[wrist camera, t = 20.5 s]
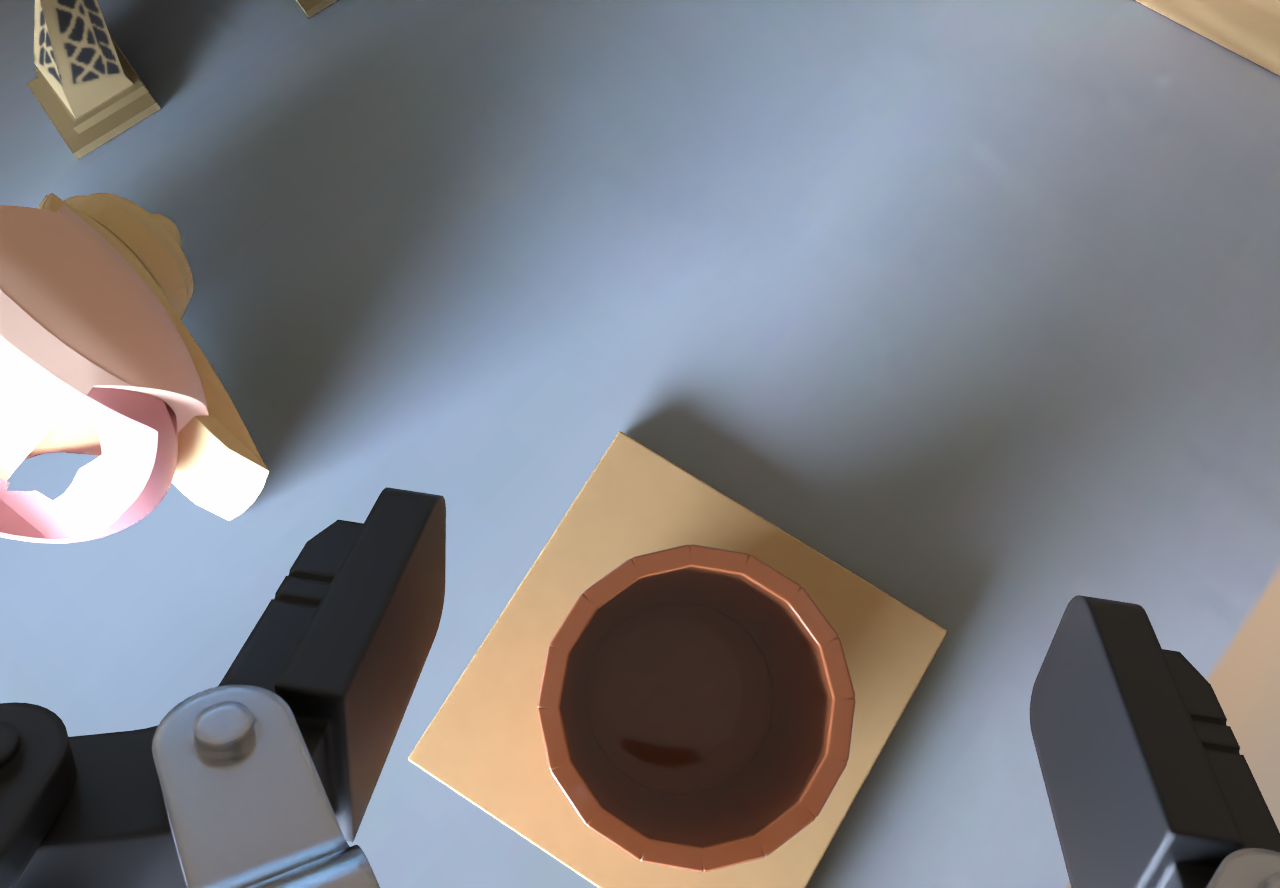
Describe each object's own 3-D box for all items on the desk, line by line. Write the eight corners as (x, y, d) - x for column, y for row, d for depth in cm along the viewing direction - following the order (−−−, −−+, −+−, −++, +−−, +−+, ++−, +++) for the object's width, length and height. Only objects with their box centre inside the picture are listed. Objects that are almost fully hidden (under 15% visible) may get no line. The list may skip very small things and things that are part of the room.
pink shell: (15, 208, 31) (143, 19, 25) (270, 450, 34) (439, 335, 28) (-283, 399, 25) (-210, 210, 19) (63, 672, 28) (223, 589, 22)
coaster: (943, 631, 28) (948, 631, 28) (748, 983, 26) (749, 989, 26) (619, 434, 29) (619, 430, 29) (410, 758, 27) (406, 759, 27)
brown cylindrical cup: (824, 661, 27) (910, 652, 19) (715, 851, 26) (751, 936, 18) (644, 549, 28) (646, 489, 19) (531, 730, 27) (478, 755, 18)
